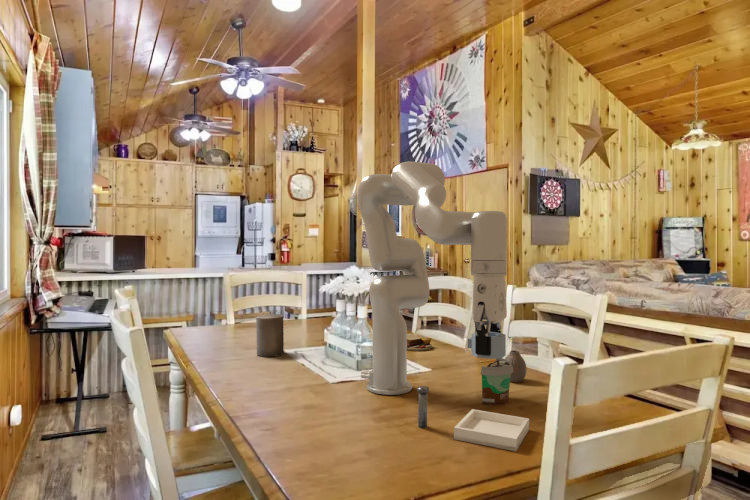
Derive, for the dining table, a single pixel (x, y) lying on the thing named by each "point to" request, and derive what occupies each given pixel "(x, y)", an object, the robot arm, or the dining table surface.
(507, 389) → the food container
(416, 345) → the toy sandwich meal
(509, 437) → the tray
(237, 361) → the dining table surface
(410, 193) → the robot arm
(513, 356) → the vase
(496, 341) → the ring
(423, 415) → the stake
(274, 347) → the pillar candle
